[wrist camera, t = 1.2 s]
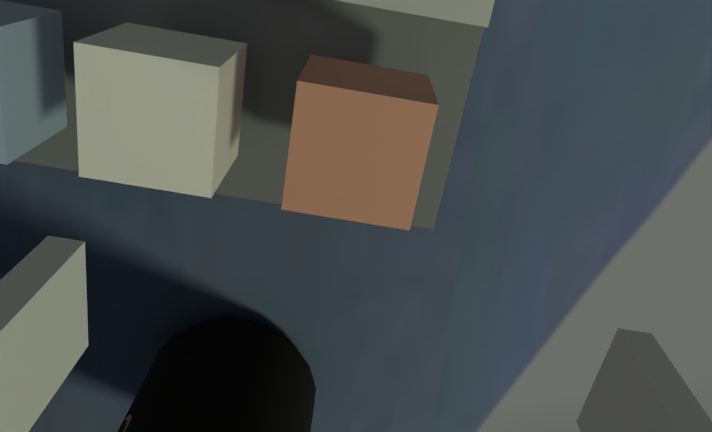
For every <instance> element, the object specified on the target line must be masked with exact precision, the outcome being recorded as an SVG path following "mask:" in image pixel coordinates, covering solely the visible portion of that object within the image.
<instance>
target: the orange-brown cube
mask: <svg viewBox="0 0 712 432" xmlns="http://www.w3.org/2000/svg"><path fill="white" fill-rule="evenodd" d="M438 106H439V104H438V102H437V99H436V96H435V93H434V90H433V87H432V85H431V82H430V79H429V76H428V75H425V74H420V73H414V72H408V71H402V70H397V69H391V68H385V67H379V66H374V65H368V64H362V63H357V62H351V61H345V60H339V59H334V58H328V57H322V56H317V55H311V56H310V58H309V59H308V61H307V63H306V65H305V67H304V69H303V71H302V72H301V74H300V76H299V78H298V80H297V86H296V94H295V102H294V110H293V118H292V127H291V135H290V143H289V151H288V159H287V167H286V176H285V184H284V192H283V200H282V208H281V209H282V210H288V211H294V212H300V213H306V214H312V215H318V216H325V217H331V218H337V219H343V220H349V221H355V222H361V223H367V224H374V225H380V226H386V227H392V228H398V229H404V230H410V227H411V223H412V218H413V214H414V210H415V206H416V201H417V197H418V193H419V188H420V184H421V180H422V175H423V171H424V167H425V162H426V158H427V154H428V149H429V145H430V141H431V136H432V132H433V128H434V123H435V119H436V115H437V110H438Z"/></svg>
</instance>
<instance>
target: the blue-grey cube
mask: <svg viewBox="0 0 712 432" xmlns="http://www.w3.org/2000/svg"><path fill="white" fill-rule="evenodd" d="M66 127H67V111H66V91H65V71H64V51H63V30H62V11H59V10H53V9H48V8H42V7H36V6H30V5H25V4H19V3H13V2H7V1H2V0H0V164H6V165H7V164H9V163H10V162H12V161H13V160H15V159H17V158H18V157H20V156H21V155H23V154H25V153H26V152H28V151H29V150H31V149H33V148H34V147H36V146H37V145H39V144H40V143H42V142H44V141H45V140H47V139H48V138H50V137H52V136H53V135H55V134H56V133H58V132H59V131H61V130H63V129H64V128H66Z"/></svg>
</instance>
